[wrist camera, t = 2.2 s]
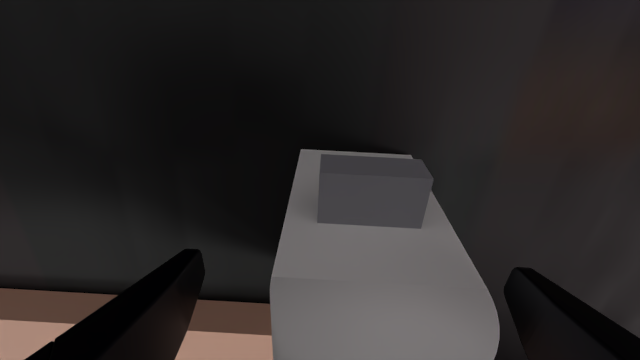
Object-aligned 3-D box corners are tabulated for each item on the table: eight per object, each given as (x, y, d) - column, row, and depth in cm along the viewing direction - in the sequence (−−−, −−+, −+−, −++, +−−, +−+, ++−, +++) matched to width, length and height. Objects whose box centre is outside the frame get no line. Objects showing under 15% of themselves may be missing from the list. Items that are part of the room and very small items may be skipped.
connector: (418, 119, 9) (613, 351, 3) (387, 267, 12) (449, 544, 6) (301, 112, 9) (233, 329, 3) (299, 262, 12) (263, 533, 6)
